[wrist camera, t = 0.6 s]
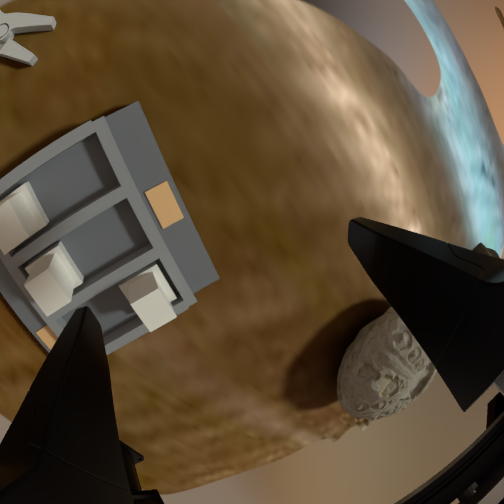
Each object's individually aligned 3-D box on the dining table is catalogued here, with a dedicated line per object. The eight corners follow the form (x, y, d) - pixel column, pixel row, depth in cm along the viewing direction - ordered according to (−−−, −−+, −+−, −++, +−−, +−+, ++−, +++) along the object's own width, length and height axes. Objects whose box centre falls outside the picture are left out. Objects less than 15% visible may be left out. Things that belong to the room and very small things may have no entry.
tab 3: (173, 291, 22) (185, 316, 19) (139, 311, 21) (146, 339, 18) (154, 258, 20) (163, 280, 17) (117, 279, 19) (120, 304, 17)
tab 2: (83, 276, 18) (80, 301, 15) (51, 297, 18) (44, 324, 15) (60, 240, 17) (51, 259, 14) (28, 262, 16) (15, 285, 13)
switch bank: (214, 272, 24) (226, 286, 22) (65, 357, 21) (63, 378, 19) (136, 101, 17) (139, 95, 15) (-35, 214, 14) (-50, 223, 12)
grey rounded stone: (309, 410, 38) (351, 457, 30) (333, 304, 32) (399, 353, 24) (392, 369, 46) (431, 400, 38) (422, 276, 40) (475, 305, 31)
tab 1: (49, 221, 16) (37, 237, 13) (16, 244, 15) (1, 263, 12) (28, 181, 15) (12, 189, 12) (-5, 205, 14) (-25, 219, 11)
